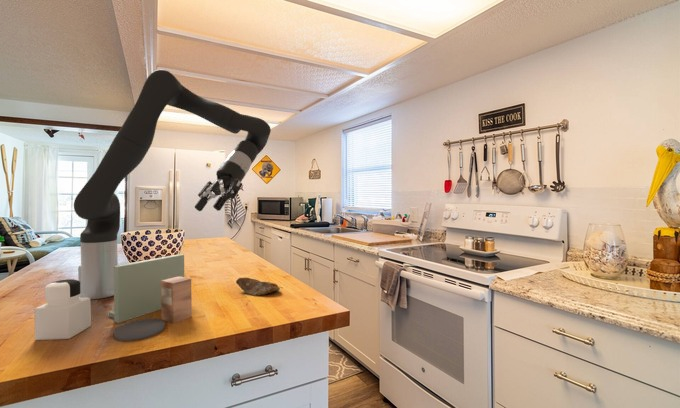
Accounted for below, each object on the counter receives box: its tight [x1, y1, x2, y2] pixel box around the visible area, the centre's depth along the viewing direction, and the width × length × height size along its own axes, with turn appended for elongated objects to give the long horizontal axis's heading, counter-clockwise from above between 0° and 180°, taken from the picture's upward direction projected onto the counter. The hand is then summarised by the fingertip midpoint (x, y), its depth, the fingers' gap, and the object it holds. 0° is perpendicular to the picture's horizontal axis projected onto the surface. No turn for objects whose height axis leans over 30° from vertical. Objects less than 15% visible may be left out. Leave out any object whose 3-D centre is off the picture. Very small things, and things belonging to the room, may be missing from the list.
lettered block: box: [160, 276, 193, 324], centre depth 82 cm, size 5×5×10 cm
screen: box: [107, 253, 185, 324], centre depth 88 cm, size 18×7×14 cm, turn 152°
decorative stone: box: [235, 277, 281, 297], centre depth 105 cm, size 10×4×15 cm
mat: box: [113, 317, 166, 342], centre depth 74 cm, size 10×10×1 cm
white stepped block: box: [33, 278, 92, 341], centre depth 73 cm, size 7×7×12 cm
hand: (206, 209), depth 91 cm, fingers open, 8 cm apart
